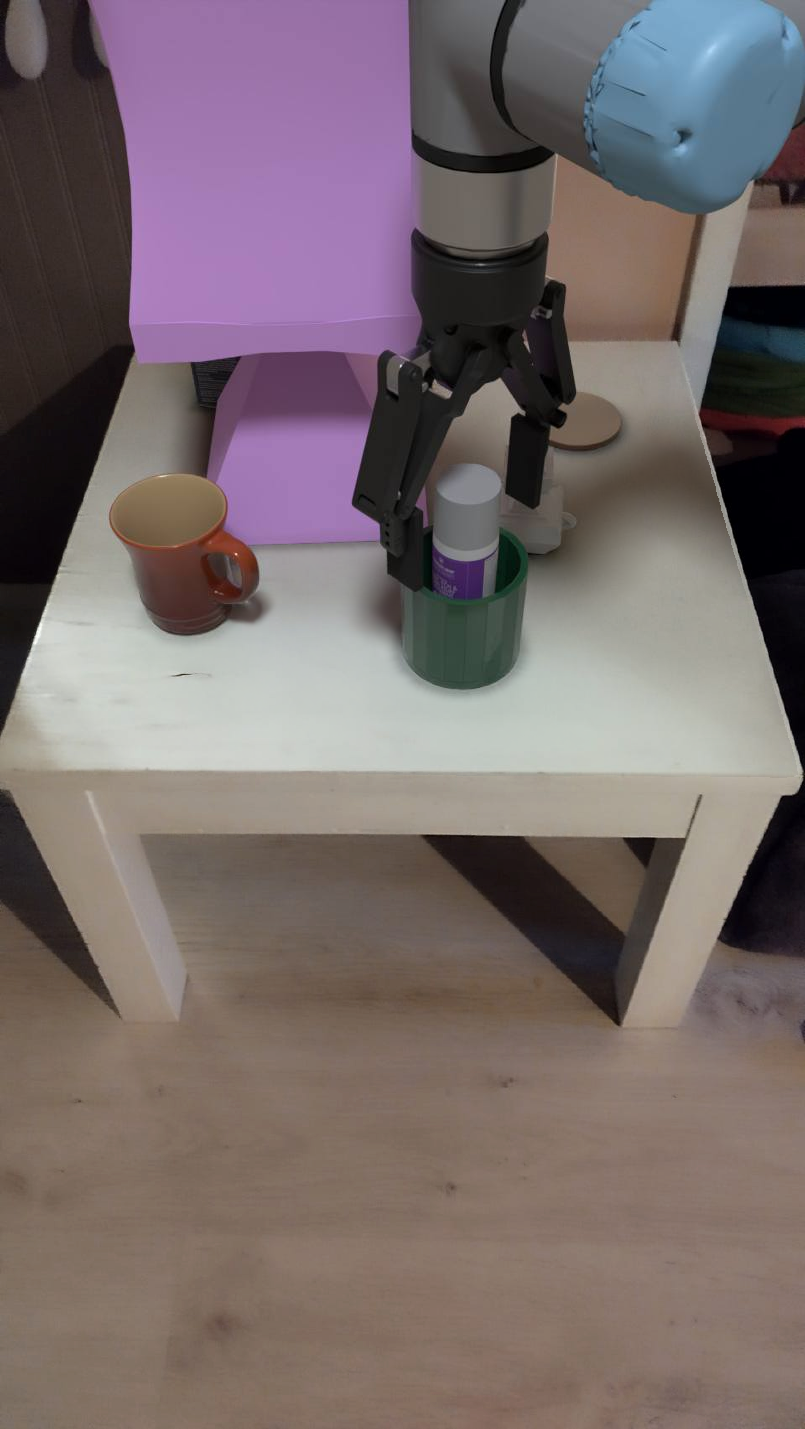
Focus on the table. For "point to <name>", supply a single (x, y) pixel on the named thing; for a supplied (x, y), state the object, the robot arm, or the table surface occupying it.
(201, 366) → the box
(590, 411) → the coaster
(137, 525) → the mug
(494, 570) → the container
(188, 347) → the chair
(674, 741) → the table surface
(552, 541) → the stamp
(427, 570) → the cup
